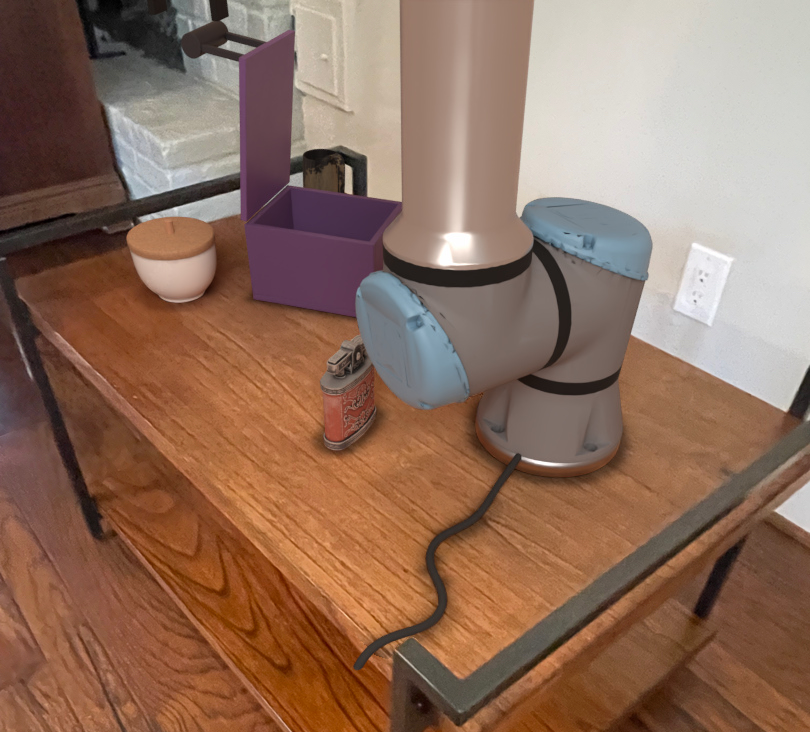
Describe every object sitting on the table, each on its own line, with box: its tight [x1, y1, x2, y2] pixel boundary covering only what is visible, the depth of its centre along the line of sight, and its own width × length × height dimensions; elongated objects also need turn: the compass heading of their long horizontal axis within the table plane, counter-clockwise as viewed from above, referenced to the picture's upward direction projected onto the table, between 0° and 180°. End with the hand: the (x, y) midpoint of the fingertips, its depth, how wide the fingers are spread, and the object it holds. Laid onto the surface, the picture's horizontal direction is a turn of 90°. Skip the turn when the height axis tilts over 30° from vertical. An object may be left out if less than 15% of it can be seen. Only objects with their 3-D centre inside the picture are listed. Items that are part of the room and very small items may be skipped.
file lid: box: [180, 20, 296, 222], centre depth 90 cm, size 17×14×9 cm
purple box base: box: [243, 184, 402, 318], centre depth 98 cm, size 17×14×10 cm
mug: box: [302, 148, 346, 194], centre depth 109 cm, size 8×6×12 cm
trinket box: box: [126, 216, 218, 304], centre depth 96 cm, size 11×11×9 cm
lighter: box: [319, 334, 377, 451], centre depth 76 cm, size 8×3×10 cm, turn 152°
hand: (189, 15), depth 83 cm, fingers open, 7 cm apart
